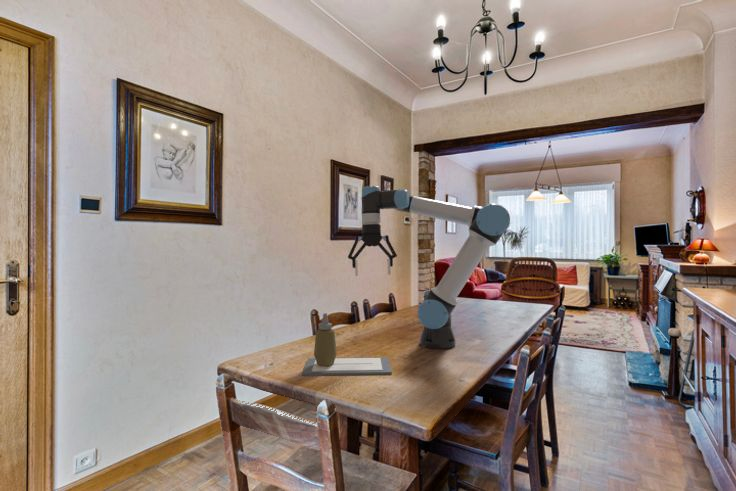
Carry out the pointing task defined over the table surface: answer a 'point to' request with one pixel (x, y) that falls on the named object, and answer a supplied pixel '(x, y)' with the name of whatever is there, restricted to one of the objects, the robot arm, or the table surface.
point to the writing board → (349, 367)
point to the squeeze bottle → (325, 343)
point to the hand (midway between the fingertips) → (372, 275)
